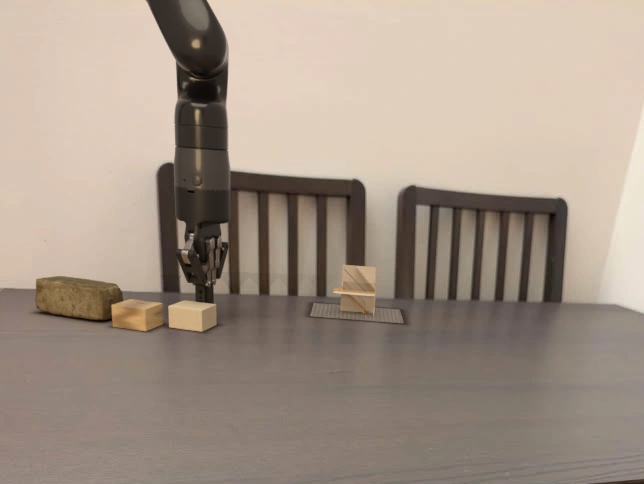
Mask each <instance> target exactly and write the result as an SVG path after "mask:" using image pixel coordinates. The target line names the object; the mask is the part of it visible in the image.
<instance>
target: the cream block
mask: <svg viewBox="0 0 644 484" xmlns="http://www.w3.org/2000/svg"><path fill="white" fill-rule="evenodd" d="M215 326H217V304H216V303H214V304H210V303H202V302H196V301H193V300H188V299H187V300H186V299H184V300H181V301H178V302H176V303H172V304H170V305H168V328H170V329H176V330H177V329H178V330H185V331H191V332H199V333H203V332H206V331H207V330H210V329H211V328H213V327H215Z"/></svg>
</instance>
